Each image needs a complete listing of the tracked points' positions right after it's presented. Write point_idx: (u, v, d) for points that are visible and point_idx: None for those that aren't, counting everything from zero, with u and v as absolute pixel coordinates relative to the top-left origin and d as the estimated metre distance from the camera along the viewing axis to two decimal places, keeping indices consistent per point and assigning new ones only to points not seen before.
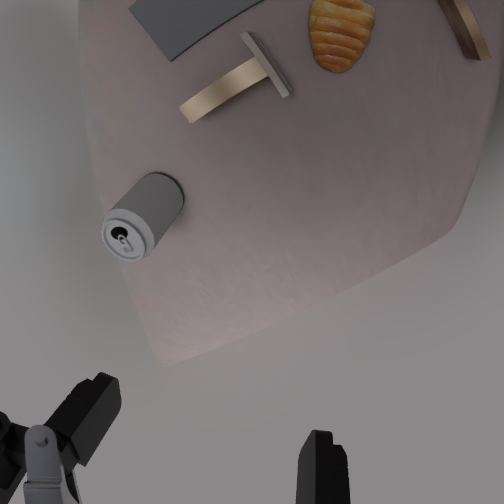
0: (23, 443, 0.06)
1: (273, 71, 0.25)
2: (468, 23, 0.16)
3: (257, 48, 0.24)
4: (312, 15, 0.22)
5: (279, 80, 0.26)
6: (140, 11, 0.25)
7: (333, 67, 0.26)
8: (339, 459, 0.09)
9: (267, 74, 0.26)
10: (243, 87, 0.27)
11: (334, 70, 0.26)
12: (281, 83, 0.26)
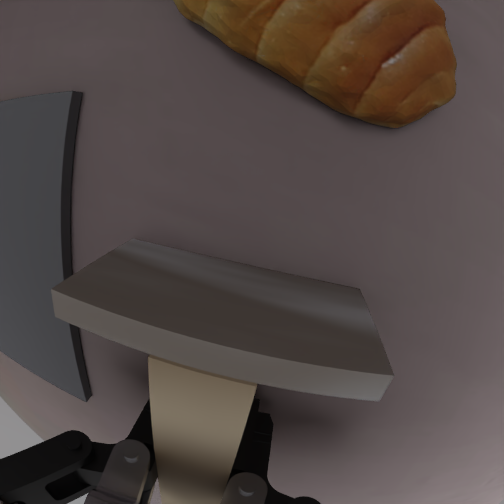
0: (99, 473, 0.06)
1: (258, 358, 0.06)
2: None
3: (124, 321, 0.06)
4: (205, 9, 0.06)
5: (313, 367, 0.06)
6: None
7: (434, 90, 0.06)
8: (264, 427, 0.10)
9: (250, 383, 0.06)
10: (228, 451, 0.07)
11: (443, 97, 0.06)
12: (330, 371, 0.06)
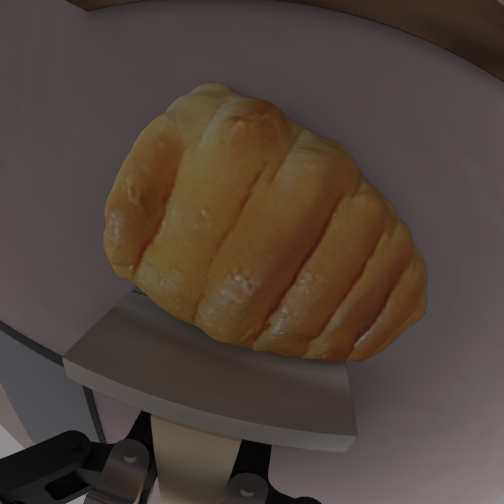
0: (98, 473, 0.06)
1: (241, 423, 0.06)
2: None
3: (129, 389, 0.06)
4: (195, 325, 0.09)
5: (287, 430, 0.06)
6: (40, 442, 0.17)
7: (404, 324, 0.08)
8: None
9: (236, 439, 0.06)
10: (220, 482, 0.07)
11: (413, 322, 0.08)
12: (302, 433, 0.06)
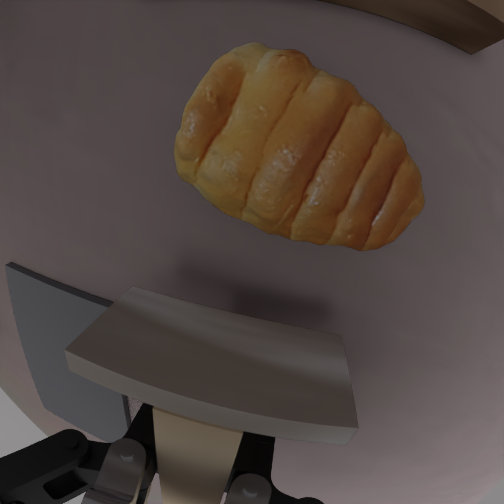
0: (96, 471, 0.06)
1: (243, 414, 0.06)
2: None
3: (131, 381, 0.07)
4: (242, 216, 0.11)
5: (288, 422, 0.06)
6: (54, 408, 0.20)
7: (409, 213, 0.10)
8: None
9: (237, 431, 0.07)
10: (221, 476, 0.07)
11: (416, 213, 0.10)
12: (303, 425, 0.06)
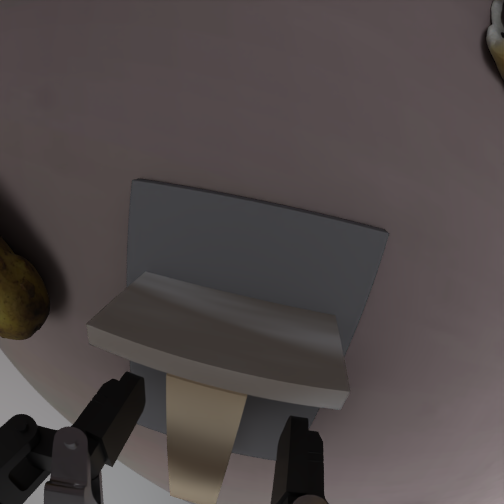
0: (49, 450, 0.06)
1: (247, 377, 0.08)
2: None
3: (148, 349, 0.08)
4: None
5: (287, 384, 0.08)
6: (160, 424, 0.15)
7: None
8: (315, 445, 0.09)
9: (242, 394, 0.08)
10: (226, 444, 0.09)
11: None
12: (300, 387, 0.08)
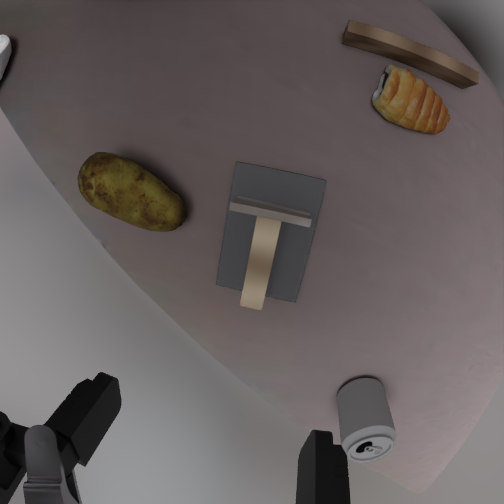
0: (23, 443, 0.06)
1: (281, 214, 0.29)
2: (448, 65, 0.22)
3: (252, 207, 0.29)
4: (400, 120, 0.27)
5: (293, 216, 0.29)
6: (230, 280, 0.37)
7: (446, 120, 0.26)
8: (339, 459, 0.09)
9: (280, 220, 0.29)
10: (273, 248, 0.30)
11: (448, 120, 0.26)
12: (296, 217, 0.29)
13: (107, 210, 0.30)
